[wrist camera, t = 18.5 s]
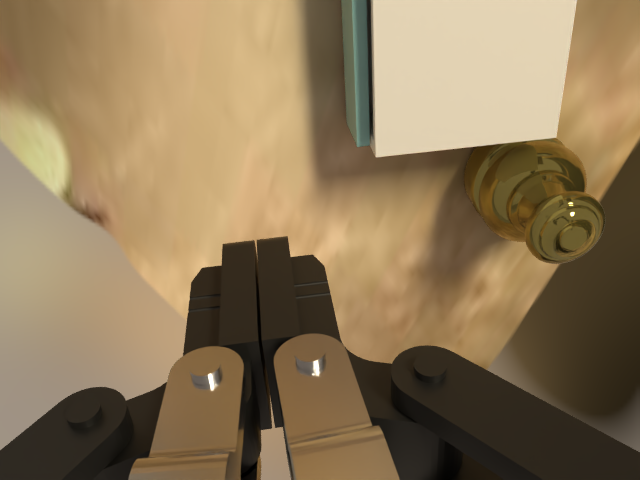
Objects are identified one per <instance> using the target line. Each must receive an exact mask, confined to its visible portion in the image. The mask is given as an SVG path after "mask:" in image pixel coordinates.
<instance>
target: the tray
mask: <svg viewBox="0 0 640 480" xmlns="http://www.w3.org/2000/svg"><path fill="white" fill-rule="evenodd" d="M341 7H342V30H343V52H344V75H345V97H346V120H347V125H348V127H349V129H350V132H351V134H352V136H353V139H354V141H355V143H356V145H357V147H361V146H370V128H369V114H370V113H373V85H372V35H371V0H341Z"/></svg>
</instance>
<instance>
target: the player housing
mask: <svg viewBox="0 0 640 480" xmlns="http://www.w3.org/2000/svg"><path fill="white" fill-rule="evenodd" d="M576 3H577V0H371V35H372V85H373V113H370V114H369V128H370V147H371V149H372V151H373V153H374V155H375V157H384V156H393V155H402V154H411V153H421V152H430V151H439V150H448V149H457V148H466V147H475V146H484V145H494V144H503V143H512V142H521V141H530V140H539V139H548V138H556V135H557V129H558V122H559V115H560V109H561V102H562V96H563V89H564V82H565V76H566V69H567V63H568V56H569V49H570V43H571V36H572V29H573V23H574V16H575V10H576Z"/></svg>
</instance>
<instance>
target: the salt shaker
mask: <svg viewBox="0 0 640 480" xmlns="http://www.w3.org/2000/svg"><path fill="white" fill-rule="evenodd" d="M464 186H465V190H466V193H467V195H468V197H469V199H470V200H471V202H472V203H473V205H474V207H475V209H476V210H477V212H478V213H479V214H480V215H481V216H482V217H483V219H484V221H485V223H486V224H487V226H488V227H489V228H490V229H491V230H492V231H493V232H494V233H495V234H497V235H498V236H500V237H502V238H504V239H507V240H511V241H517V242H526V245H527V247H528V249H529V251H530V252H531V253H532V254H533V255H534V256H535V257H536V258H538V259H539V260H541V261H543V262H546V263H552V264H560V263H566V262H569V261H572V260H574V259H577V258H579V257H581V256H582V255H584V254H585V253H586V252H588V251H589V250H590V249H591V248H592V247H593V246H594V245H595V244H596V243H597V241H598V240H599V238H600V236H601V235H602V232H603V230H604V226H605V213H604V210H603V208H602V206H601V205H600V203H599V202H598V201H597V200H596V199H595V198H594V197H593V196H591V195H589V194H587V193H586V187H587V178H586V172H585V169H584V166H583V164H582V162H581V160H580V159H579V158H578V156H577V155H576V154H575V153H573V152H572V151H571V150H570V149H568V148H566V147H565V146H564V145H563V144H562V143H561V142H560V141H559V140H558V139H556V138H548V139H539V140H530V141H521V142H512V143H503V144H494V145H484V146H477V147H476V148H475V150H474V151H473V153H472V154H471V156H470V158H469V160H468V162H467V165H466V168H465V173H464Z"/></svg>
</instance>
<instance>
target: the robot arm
mask: <svg viewBox="0 0 640 480" xmlns="http://www.w3.org/2000/svg"><path fill="white" fill-rule="evenodd" d="M257 256H258V260H257ZM188 310H189V313H188V317H187V326H186V335H185V344H184V353H183V357H181V358H180V359H179V360H178V361H177V362H176V363H175V364H174V366H173V367H172V368H171V370H170V373H169V376H168V381H167V382H166V383H165V384H163V385H162V386H161V387H158V388H156V389H155V390H153V391H150V392H148V393H145V394H143V395H140V396H137V397H135V398H132V399H129V400H127V401H126V400H125V398H124V397H123V395H122V394H121V393H120V392H118V391H116V390H114V389H111V388H107V387H95V388H88V389H84V390H81V391H79V392H76V393H74V394H72V395H70V396H68V397H67V398H65V399H64V400H62V401H61V402H59V403H58V404H57V405H56V406H54V407H53V408H52V409H51V410H50V411H48V412H47V413H46V414H45V415H43V416H42V417H41V418H40V419H38V420H37V421H36V422H35V423H34V424H32V425H31V426H30V427H29V428H27V429H26V430H25V431H24V432H23V433H21V434H20V435H19V436H18V437H16V438H15V439H14V440H13V441H11V442H10V443H9V444H8V445H6V446H5V447H4V448H3V449H2V450H0V480H261V479H260V478H261V459H260V452H261V430H264V429H271V428H272V421H271V404H270V397H271V403H272V410H273V416H274V423H275V428H277V427H283V431H284V438H285V444H286V452H287V459H288V465H289V471H290V477H291V480H640V452H638V451H636V450H634V449H632V448H630V447H628V446H627V445H625V444H623V443H621V442H619V441H617V440H615V439H614V438H611V437H610V436H608V435H606V434H604V433H602V432H601V431H598V430H597V429H595V428H593V427H591V426H589V425H588V424H586V423H584V422H582V421H580V420H578V419H576V418H575V417H573V416H571V415H569V414H567V413H565V412H563V411H561V410H560V409H558V408H556V407H554V406H552V405H550V404H548V403H547V402H545V401H543V400H541V399H539V398H537V397H535V396H534V395H531V394H530V393H528V392H526V391H524V390H522V389H521V388H519V387H517V386H515V385H513V384H511V383H509V382H508V381H505V380H504V379H502V378H500V377H498V376H497V375H494V374H493V373H491V372H489V371H487V370H485V369H483V368H482V367H480V366H478V365H476V364H474V363H472V362H470V361H469V360H467V359H465V358H463V357H461V356H459V355H457V354H456V353H454V352H452V351H450V350H447V349H445V348H441V347H437V346H417V347H413V348H410V349H407V350H405V351H403V352H402V353H400V354H399V355H398V356H397V357H396V358H395V360H394V361H393V363H392V364H389V363H380V362H373V361H368V360H365V359H362V358H360V357H357V356H356V355H354V354H352V353H351V352H350V351H348V350H347V349H346V347H345V346H344V345H343V343H342V342H341V339H340V335H339V330H338V326H337V321H336V317H335V312H334V308H333V303H332V299H331V295H330V290H329V285H328V281H327V276H326V272H325V267H324V265H323V264H322V263H321V262H320V261H319V260H318V259H317V258H315V257H314V256H313V255H305V256H297V257H290V251H289V243H288V236H286V237H277V238H269V239H260V240H257V253H256V246H255V241H254V240H253V241H244V242H236V243H227V244H223V249H222V266H214V267H206V268H202V269H201V270H200V272H199V273H198V274H197V276H196V277H195V278H194V280H193V281H192V282H191V291H190V300H189V309H188Z"/></svg>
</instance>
